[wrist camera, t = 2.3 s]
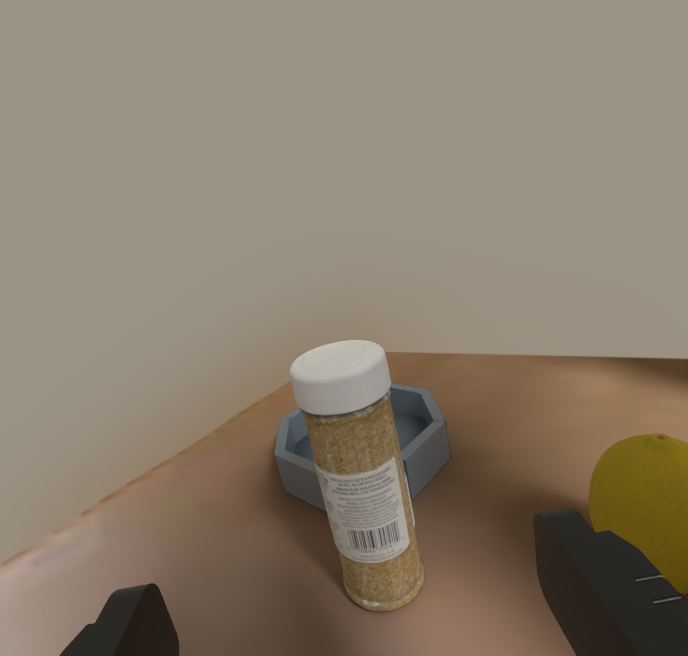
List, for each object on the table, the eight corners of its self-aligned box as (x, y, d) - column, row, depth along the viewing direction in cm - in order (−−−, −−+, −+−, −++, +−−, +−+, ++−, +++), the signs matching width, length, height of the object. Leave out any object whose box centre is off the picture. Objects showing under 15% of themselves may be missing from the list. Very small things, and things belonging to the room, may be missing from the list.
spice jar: (427, 546, 25) (391, 332, 21) (422, 621, 21) (375, 371, 17) (352, 543, 26) (305, 341, 22) (333, 613, 22) (271, 379, 18)
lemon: (565, 557, 22) (559, 426, 20) (650, 522, 24) (653, 393, 21) (665, 658, 17) (672, 498, 15) (768, 607, 18) (790, 449, 16)
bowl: (423, 402, 41) (419, 372, 40) (467, 490, 29) (461, 449, 28) (292, 428, 41) (284, 399, 40) (278, 526, 29) (267, 487, 28)
